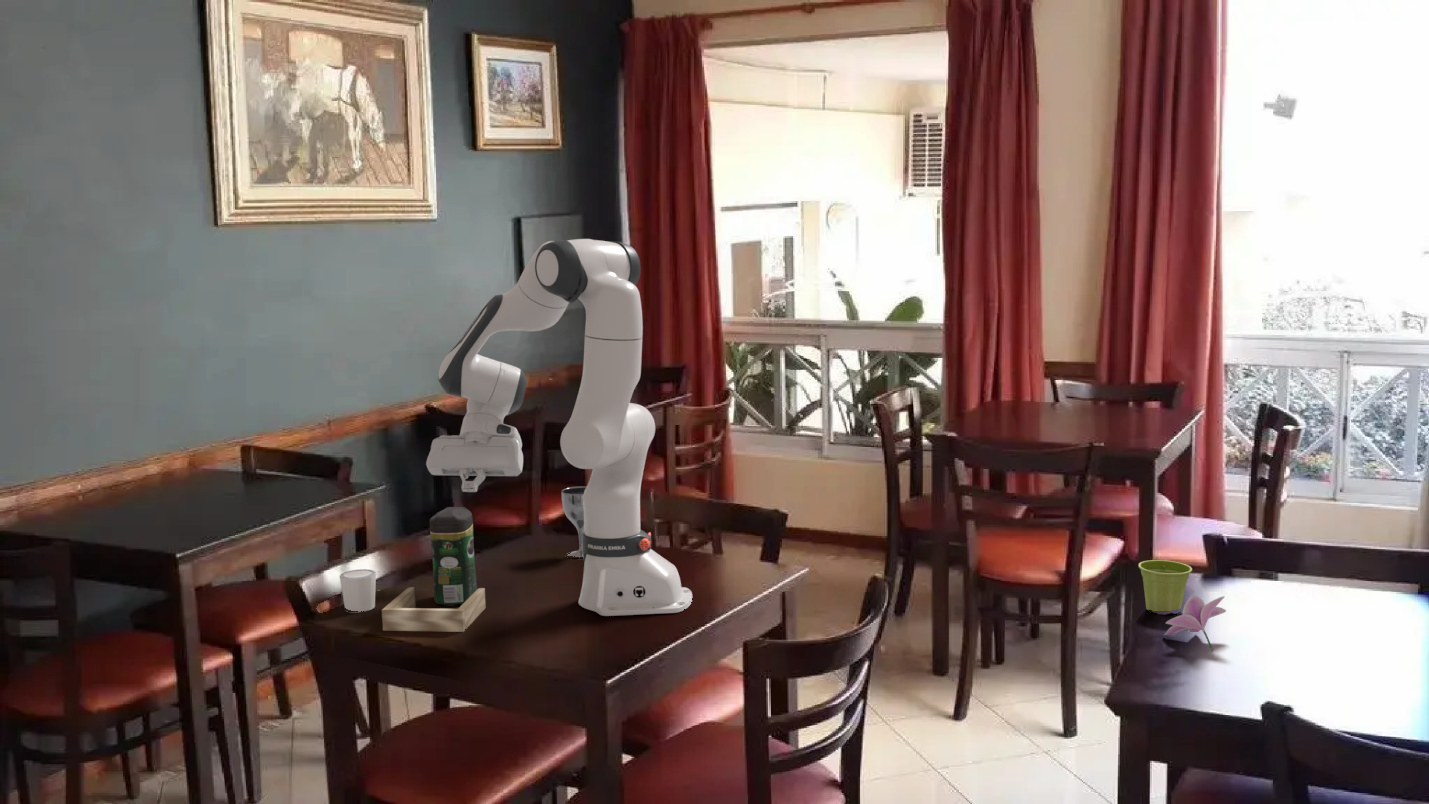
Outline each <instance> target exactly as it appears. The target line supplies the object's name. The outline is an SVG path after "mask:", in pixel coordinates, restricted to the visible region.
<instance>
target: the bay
mask: <svg viewBox="0 0 1429 804" xmlns="http://www.w3.org/2000/svg"><path fill="white" fill-rule="evenodd" d="M486 605H487V604H486V588H485V587H479V588H478V587H477V590H476V591H475V592H474V593H473V594H472V595H471V596H470V597H469V598H468V599H467V600H466V601H465V602H464V603H463V604H460V607H458V608H431V607H430V608H423V607H422V608H421V607H420V608H419V607H417V606H416V590H415V587H414V586H413V587H412V586H411V587H410V586H409V587H407V588H406V589H404V591H402V592H401V593H400V594H398V596H396V597H395V598H394V599H392V600H391V601H390V602H389V603H388V604H387V605H386V606H385V607H383V608H382V609H381V619H382V631H385V632H387V631H388V632H391V631H392V632H395V631H396V632H446V633H447V632H448V633H449V632H453V633H456V632H457V633H458V632H459V633H461V632H462V633H464V632H465V631H466V630H468V627H470V625H472V624H473V622H474V621H475V620H476V619H477V618H478V617H479V616H480V615H481V614H482V612H483V611H484V610H485V609H486V608H487V607H486ZM465 629H466V630H465Z"/></svg>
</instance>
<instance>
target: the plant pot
mask: <svg viewBox="0 0 1429 804" xmlns="http://www.w3.org/2000/svg"><path fill="white" fill-rule="evenodd" d="M1138 568H1139V569H1140V573H1141V576H1142V582H1143V590H1144V591H1143V592H1144V599H1145V600H1144V601H1145V607H1146V609H1145V610H1147V611H1149V610H1152V611H1172V610H1176V609H1180V608H1181V607H1183V601H1184V596H1185V592H1186V587H1187V582H1188V579H1189V577H1190V573H1191V572H1192V571H1193V568H1192V567H1191V566H1190V565H1188V564H1185V563H1183V562H1178V561H1173V560H1167V559H1166V560H1165V559H1164V560H1162V559H1152V560H1151V559H1150V560H1143V561H1141V562H1139V563H1138ZM1181 609H1182V608H1181Z"/></svg>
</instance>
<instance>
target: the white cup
mask: <svg viewBox="0 0 1429 804" xmlns="http://www.w3.org/2000/svg"><path fill="white" fill-rule="evenodd" d="M376 575H377V572H376V571H375V570H373V569H361V568H360V569H353V570H348V571H345V572H342V573H340V575H339V580H340V586H341V593H342V598H343V605H344V609H345V608H346V609H348V610H351V611H358V612H357V613H362V612H363V611H364V612H367V611H370V610H372V609H375V607H376V582H377V580H376V579H377V577H376ZM361 611H362V612H361ZM364 612H363V613H364Z"/></svg>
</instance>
